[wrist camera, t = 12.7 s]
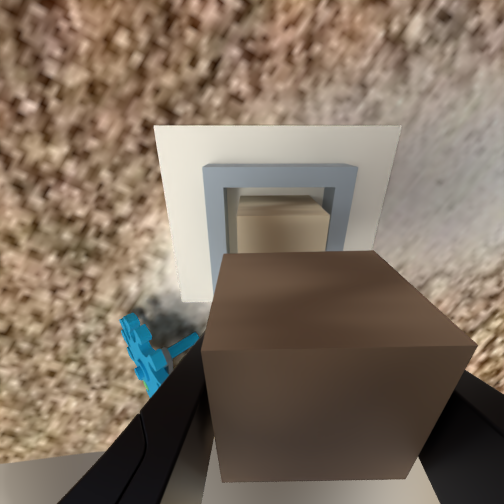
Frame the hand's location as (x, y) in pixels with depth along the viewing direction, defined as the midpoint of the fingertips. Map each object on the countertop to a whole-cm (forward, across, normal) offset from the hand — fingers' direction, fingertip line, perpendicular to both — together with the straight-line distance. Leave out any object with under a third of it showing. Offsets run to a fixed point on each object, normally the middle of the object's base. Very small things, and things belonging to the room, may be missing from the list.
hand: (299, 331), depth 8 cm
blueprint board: (+12, 0, 0) cm, 12 cm away
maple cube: (+11, 0, 0) cm, 11 cm away
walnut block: (+1, 0, 0) cm, 1 cm away
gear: (+12, +10, +13) cm, 20 cm away
